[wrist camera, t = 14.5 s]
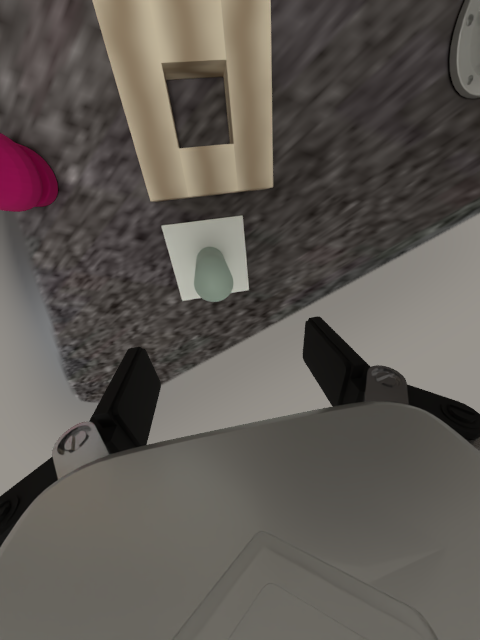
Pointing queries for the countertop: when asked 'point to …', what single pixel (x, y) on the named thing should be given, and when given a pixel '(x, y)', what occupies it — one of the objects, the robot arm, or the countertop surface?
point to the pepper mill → (24, 178)
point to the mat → (201, 234)
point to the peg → (212, 275)
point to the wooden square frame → (184, 63)
